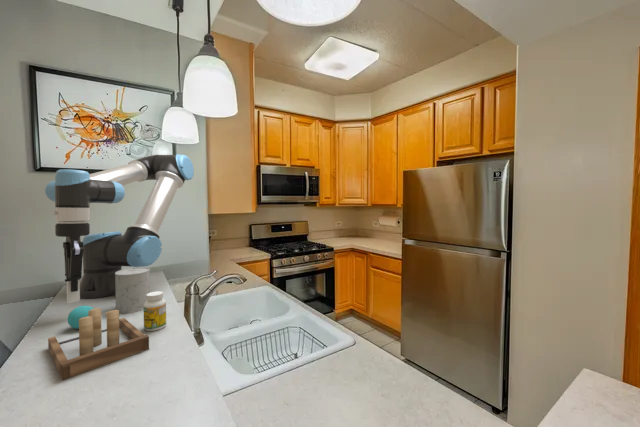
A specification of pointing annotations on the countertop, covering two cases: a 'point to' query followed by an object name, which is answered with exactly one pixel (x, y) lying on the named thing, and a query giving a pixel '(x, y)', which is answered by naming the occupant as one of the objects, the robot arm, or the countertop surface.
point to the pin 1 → (85, 335)
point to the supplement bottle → (154, 311)
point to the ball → (78, 315)
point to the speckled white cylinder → (131, 289)
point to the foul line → (76, 338)
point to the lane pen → (99, 352)
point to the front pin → (96, 326)
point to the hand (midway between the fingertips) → (73, 301)
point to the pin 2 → (112, 327)
